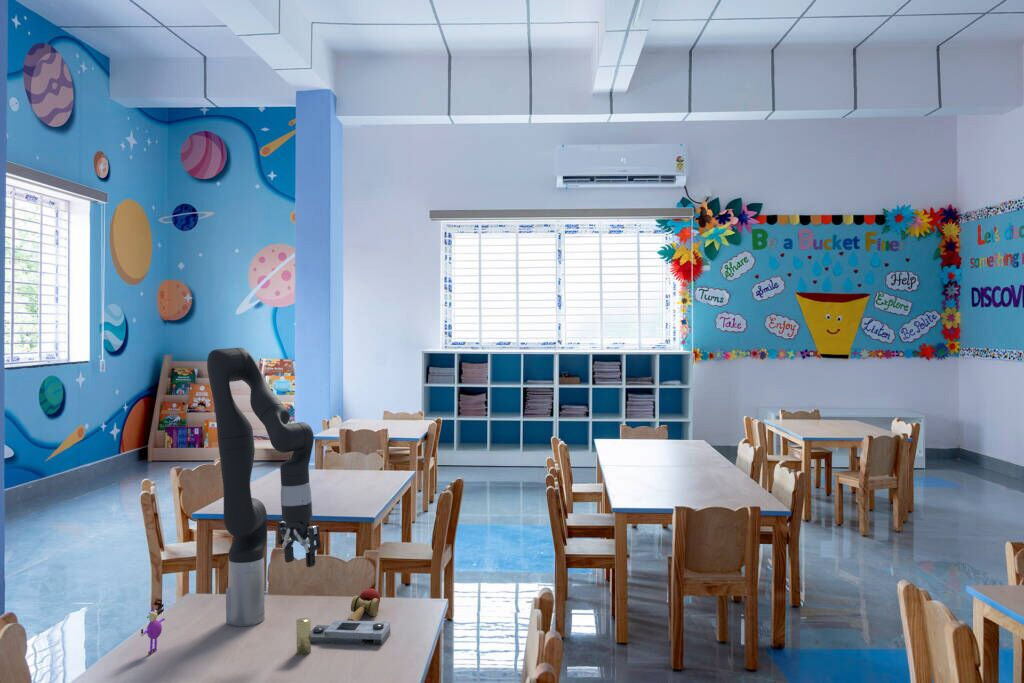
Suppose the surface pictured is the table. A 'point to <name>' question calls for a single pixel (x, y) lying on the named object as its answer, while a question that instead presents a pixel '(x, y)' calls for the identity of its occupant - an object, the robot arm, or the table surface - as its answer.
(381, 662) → the table surface
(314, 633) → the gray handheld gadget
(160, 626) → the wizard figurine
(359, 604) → the kendama
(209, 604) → the table surface
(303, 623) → the brass pin
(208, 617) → the table surface
